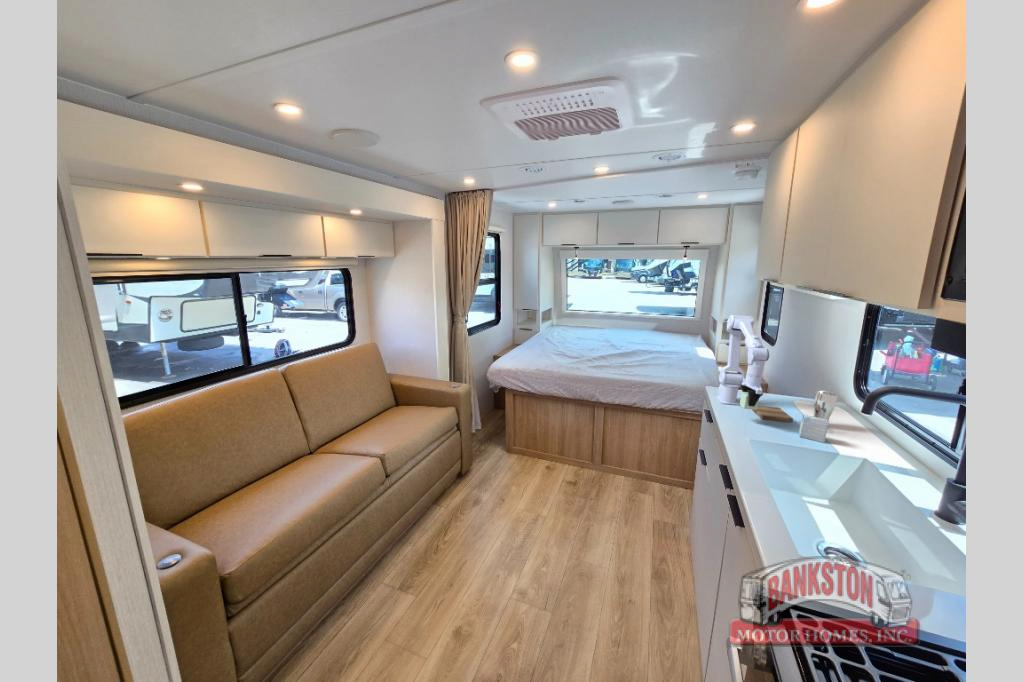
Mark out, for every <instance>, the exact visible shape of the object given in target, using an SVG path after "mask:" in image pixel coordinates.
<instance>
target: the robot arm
mask: <svg viewBox="0 0 1023 682" xmlns="http://www.w3.org/2000/svg"><path fill="white" fill-rule="evenodd" d="M754 325H755V318H754V316H752V315H735V314H730V315H729V316H728V318H727V320H726V332H728V333H729V341H728V350H727V351H728V352H727V353H728V354H727V365H725V366H724V367H721V369H720V373H719V375H718V381H719V383H720V384H719V387H718V392H717V395H715V398H716V399H717V400H718V401H719V402H720V404H723V405H733V406H739V405H740V403H739V402H738V401H737V398H738V393H739V388H741V393H742V392H748V397H749V400H748V405H749V406H753V407H754V406H755V405H756V403H757V401H758V399H759V400H760V398H761V397H762V396H763V395H764V392H763V391H764V390H763V389H762V379H763V375H764V370H765V364H766V362H768V361H769V359H770V354H771V353H770V349H769V348H768V347H766V346H764V345H763V342H762V340H761V339H760V337H759V336H758V335H756V334H755V331H754ZM742 335H743V336H744V337H745V338H744V344H745V346H746V349H747V370H746V374H745V370H743V368H742V367H740V357H741V343H742Z"/></svg>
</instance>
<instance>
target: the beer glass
mask: <svg viewBox="0 0 1023 682" xmlns="http://www.w3.org/2000/svg"><path fill="white" fill-rule="evenodd" d="M837 399H838V394H837V393H834V392H833V391H829V390H822V389H819V390H817V391H816V394H815V397H814V401H813V417H818V418H822V419H827V421H828V423H829V424H830V421H829V420H830V418H831V415H832V414H833V411H834V410H835V408H836V404H837Z"/></svg>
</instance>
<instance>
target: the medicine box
mask: <svg viewBox="0 0 1023 682" xmlns="http://www.w3.org/2000/svg"><path fill="white" fill-rule="evenodd" d="M829 425H830V422H829V423H828V421H827V419H822V418H818V417H813V416H812V415H807V414H802V416H801V421H800V425H799V430H798V436H799V438H801V437H803V439H806V438H807V440H810V439H811V440H810V441H814V440H815V441H816V442H820V443H823V444H824V443H825V441H826V437H827V433H828V428H829V427H830V426H829ZM815 441H814V442H815Z"/></svg>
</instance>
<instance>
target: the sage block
mask: <svg viewBox="0 0 1023 682" xmlns="http://www.w3.org/2000/svg"><path fill="white" fill-rule="evenodd" d="M748 400H749V397H748V392H742V391H741V396H740V400H739V405H740V406H741V408H743V410H744V409H745V410H751V409H753V410H757V407H758V406H759V401H760V398H759V399H758V401H757V403H756V405H755V406H754V407H753V406H749V405H748Z"/></svg>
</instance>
